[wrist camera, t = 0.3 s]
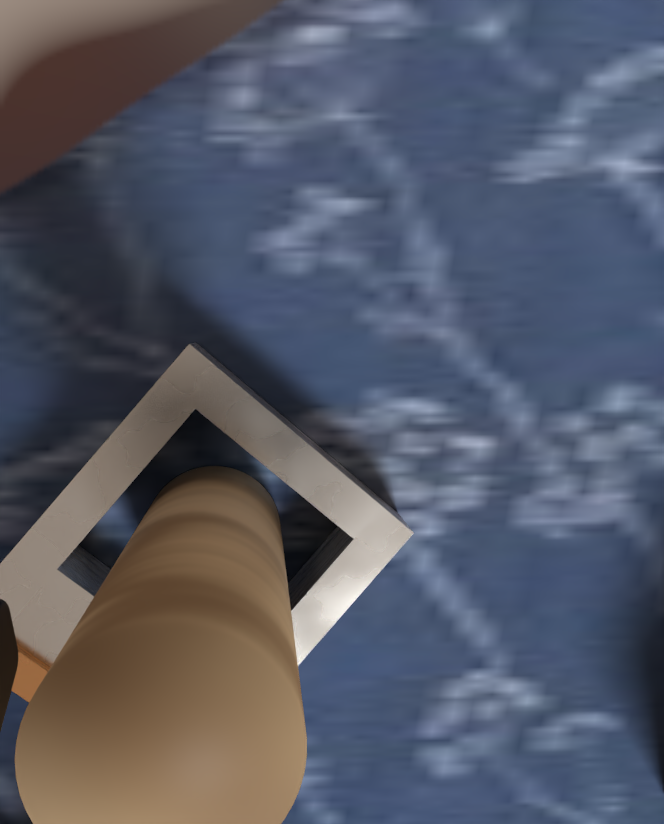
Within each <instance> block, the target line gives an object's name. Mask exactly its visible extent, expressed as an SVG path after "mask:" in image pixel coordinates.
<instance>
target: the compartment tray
mask: <svg viewBox="0 0 664 824" xmlns="http://www.w3.org/2000/svg"><path fill="white" fill-rule="evenodd" d="M195 409H196V410H198V411H199V412H200V413H201V414H202V415H204V416H205V417H206V418H207V419H209V420H210V421H211V422H212V423H213V424H215V425H216V426H217V427H218V428H219V429H221V430H222V431H223V432H224V433H226V434H227V435H228V436H229V437H230V438H232V439H233V440H234V441H235V442H236V443H238V444H239V445H240V446H241V447H243V448H244V449H245V450H246V451H247V452H249V453H250V454H251V455H252V456H253V457H255V458H256V459H257V460H258V461H260V462H261V463H262V464H263V465H264V466H266V467H267V468H268V469H269V470H271V471H272V472H273V473H274V474H275V475H277V476H278V477H279V478H280V479H281V480H283V481H284V482H285V483H286V484H288V485H289V486H290V487H291V488H292V489H294V490H295V491H296V492H297V493H298V494H300V495H301V496H302V497H303V498H305V499H306V500H307V501H308V502H309V503H311V504H312V505H313V506H314V507H315V508H317V509H318V510H319V511H320V512H322V513H323V514H324V515H325V516H326V517H328V518H329V519H330V520H331V521H332V522H334V523H335V524H336V525H337V527H336V528H335V529H334V531H333V532H332V533H331V534H330V535H329V536H328V538H327V539H326V540H325V541H324V542H323V543H322V544H321V546H320V547H319V548H318V549H317V550H316V551H315V553H314V554H313V555H312V556H311V557H310V558H309V559H308V561H307V562H306V563H305V564H304V565H303V566H302V567H301V569H300V570H299V571H298V572H297V573H296V574H295V576H294V577H293V578H292V579H291V580H290V581H289V582H288V590H289V598H290V606H291V615H292V623H293V631H294V639H295V647H296V655H297V663H298V665H299V664H300V663H301V662H302V661H303V659H304V658H305V657H306V656H307V655H308V654H309V653H310V651H311V650H312V649H313V648H314V647H315V646H316V645H317V643H318V642H319V641H320V640H321V639H322V638H323V637H324V635H325V634H326V633H327V632H328V631H329V630H330V628H331V627H332V626H333V625H334V624H335V623H336V622H337V620H338V619H339V618H340V617H341V616H342V615H343V614H344V612H345V611H346V610H347V609H348V608H349V607H350V606H351V604H352V603H353V602H354V601H355V600H356V599H357V598H358V596H359V595H360V594H361V593H362V592H363V591H364V589H365V588H366V587H367V586H368V585H369V584H370V583H371V581H372V580H373V579H374V578H375V577H376V576H377V575H378V573H379V572H380V571H381V570H382V569H383V568H384V567H385V565H386V564H387V563H388V562H389V561H390V560H391V559H392V557H393V556H394V555H395V554H396V553H397V552H398V550H399V549H400V548H401V547H402V546H403V545H404V544H405V542H406V541H407V540H408V539H409V538H410V537H411V536H412V534H413V531H412V530H411V529H410V528H409V526H408V525H407V524H406V522H405V521H404V520H403V519H402V517H401V516H400V515H399V514H398V513H397V512H396V511H395V510H394V509H393V508H391V507H390V506H389V505H388V504H387V503H386V502H384V501H383V500H382V499H381V498H380V497H378V496H377V495H376V494H375V493H374V492H373V491H371V490H370V489H369V488H368V487H367V486H365V485H364V484H363V483H362V482H361V481H360V480H358V479H357V478H356V477H355V476H354V475H352V474H351V473H350V472H349V471H348V470H347V469H345V468H344V467H343V466H342V465H341V464H339V463H338V462H337V461H336V460H335V459H334V458H332V457H331V456H330V455H329V454H328V453H326V452H325V451H324V450H323V449H322V448H321V447H319V446H318V445H317V444H316V443H315V442H313V441H312V440H311V439H310V438H309V437H308V436H306V435H305V434H304V433H303V432H302V431H300V430H299V429H298V428H297V427H296V426H294V425H293V424H292V423H291V422H290V421H289V420H287V419H286V418H285V417H284V416H283V415H281V414H280V413H279V412H278V411H277V410H276V409H274V408H273V407H272V406H271V405H270V404H268V403H267V402H266V401H265V400H264V399H263V398H261V397H260V396H259V395H258V394H257V393H255V392H254V391H253V390H252V389H251V388H250V387H248V386H247V385H246V384H245V383H244V382H242V381H241V380H240V379H239V378H238V377H237V376H235V375H234V374H233V373H232V372H231V371H229V370H228V369H227V368H226V367H225V366H224V365H222V364H221V363H220V362H219V361H218V360H216V359H215V358H214V357H213V356H212V355H210V354H209V353H208V352H207V351H206V350H205V349H203V348H202V347H201V346H200V345H199V344H197V343H191V344H189V345H188V346H187V347H186V348H185V349H184V350H183V352H182V353H181V354H180V355H179V356H178V357H177V359H176V360H175V361H174V362H173V363H172V364H171V366H170V367H169V368H168V369H167V370H166V371H165V373H164V374H163V375H162V376H161V377H160V378H159V380H158V381H157V382H156V383H155V384H154V385H153V387H152V388H151V389H150V390H149V391H148V392H147V394H146V395H145V396H144V397H143V398H142V399H141V401H140V402H139V403H138V404H137V405H136V406H135V408H134V409H133V410H132V411H131V412H130V413H129V415H128V416H127V417H126V418H125V419H124V420H123V421H122V423H121V424H120V425H119V426H118V427H117V428H116V430H115V431H114V432H113V433H112V434H111V435H110V437H109V438H108V439H107V440H106V441H105V442H104V444H103V445H102V446H101V447H100V448H99V449H98V451H97V452H96V453H95V454H94V455H93V456H92V458H91V459H90V460H89V461H88V462H87V463H86V465H85V466H84V467H83V468H82V469H81V470H80V472H79V473H78V474H77V475H76V476H75V477H74V479H73V480H72V481H71V482H70V483H69V484H68V485H67V487H66V488H65V489H64V490H63V491H62V492H61V494H60V495H59V496H58V497H57V498H56V499H55V501H54V502H53V503H52V504H51V505H50V506H49V508H48V509H47V510H46V511H45V512H44V513H43V515H42V516H41V517H40V518H39V519H38V520H37V522H36V523H35V524H34V525H33V526H32V527H31V529H30V530H29V531H28V532H27V533H26V534H25V536H24V537H23V538H22V539H21V540H20V541H19V543H18V544H17V545H16V546H15V547H14V548H13V550H12V551H11V552H10V553H9V554H8V555H7V556H6V558H5V559H4V560H3V561H2V562H1V563H0V599H2V600H4V601H6V603H7V604H8V606H9V609H10V613H11V618H12V623H13V627H14V632H15V637H16V642H17V646H18V667H17V671H16V675H15V679H14V683H13V686H12V690H11V691H13V692H14V693H16V694H17V695H19V696H20V697H22V698H23V699H25V700H26V701H27V702H29V703H30V701H31V699H32V697H33V695H34V694H35V692H36V690H37V688H38V687H39V685H40V684H41V682H42V680H43V679H44V677H45V676H46V674H47V672H48V671H49V669H50V667H51V666H52V664H53V663H54V661H55V659H56V658H57V656H58V655H59V653H60V651H61V650H62V648H63V646H64V645H65V643H66V642H67V640H68V638H69V637H70V635H71V634H72V632H73V630H74V629H75V627H76V625H77V624H78V622H79V621H80V619H81V617H82V616H83V614H84V613H85V611H86V609H87V608H88V606H89V604H90V603H91V601H92V600H93V598H94V596H95V595H96V593H97V592H98V590H99V588H100V587H101V585H102V584H103V582H104V580H105V579H106V577H107V575H108V574H109V572H110V571H111V569H110V568H109V567H107V566H106V565H105V564H103V563H102V562H101V561H99V560H98V559H97V558H95V557H94V556H93V555H91V554H90V553H89V552H87V551H86V550H85V549H83V548H82V547H80V546H79V545H78V544H79V543H80V542H81V541H82V540H83V539H84V538H85V536H86V535H87V534H88V533H89V532H90V531H91V529H92V528H93V527H94V526H95V525H96V524H97V522H98V521H99V520H100V519H101V518H102V517H103V515H104V514H105V513H106V512H107V511H108V510H109V508H110V507H111V506H112V505H113V504H114V503H115V502H116V500H117V499H118V498H119V497H120V496H121V495H122V493H123V492H124V491H125V490H126V489H127V488H128V486H129V485H130V484H131V483H132V482H133V481H134V479H135V478H136V477H137V476H138V475H139V474H140V472H141V471H142V470H143V469H144V468H145V467H146V466H147V464H148V463H149V462H150V461H151V460H152V459H153V457H154V456H155V455H156V454H157V453H158V452H159V450H160V449H161V448H162V447H163V446H164V445H165V443H166V442H167V441H168V440H169V439H170V438H171V436H172V435H173V434H174V433H175V432H176V431H177V430H178V428H179V427H180V426H181V425H182V424H183V423H184V421H185V420H186V419H187V418H188V417H189V416H190V414H191V413H192V412H193V411H194V410H195Z"/></svg>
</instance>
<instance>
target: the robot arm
mask: <svg viewBox="0 0 664 824" xmlns="http://www.w3.org/2000/svg"><path fill="white" fill-rule="evenodd" d="M17 667H18V646H17V642H16V637H15V632H14V627H13V623H12V618H11V613H10V609H9V606H8V604H7V603H6V601H4V600H2V599H0V731H1V727H2V723H3V720H4V716H5V712H6V709H7V705H8V701H9V697H10V694H11V690H12V686H13V683H14V679H15V675H16V671H17Z"/></svg>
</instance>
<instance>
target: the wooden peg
mask: <svg viewBox="0 0 664 824" xmlns="http://www.w3.org/2000/svg"><path fill="white" fill-rule="evenodd" d="M306 757H307V736H306V728H305V720H304V712H303V704H302V696H301V688H300V679H299V671H298V663H297V655H296V647H295V639H294V631H293V623H292V615H291V606H290V598H289V590H288V582H287V574H286V566H285V558H284V550H283V542H282V533H281V525H280V518H279V514H278V510H277V507H276V505H275V503H274V501H273V499H272V497H271V496H270V494H269V493H268V492H267V490H266V489H265V488H264V487H263V486H262V485H261V484H260V483H259V482H258V481H257V480H255V479H254V478H252V477H251V476H249V475H247V474H246V473H244V472H241V471H239V470H236V469H233V468H229V467H222V466H206V467H199V468H196V469H192V470H189V471H187V472H185V473H182V474H181V475H179V476H177V477H176V478H174V479H173V480H171V481H170V482H169V483H168V484H167V485H166V486H165V487H164V488H163V489H162V490H161V491H160V492H159V494H158V495H157V496H156V498H155V500H154V501H153V503H152V504H151V506H150V508H149V509H148V511H147V512H146V514H145V516H144V517H143V519H142V521H141V522H140V524H139V525H138V527H137V529H136V530H135V532H134V533H133V535H132V537H131V538H130V540H129V542H128V543H127V545H126V546H125V548H124V550H123V551H122V553H121V554H120V556H119V558H118V559H117V561H116V563H115V564H114V566H113V567H112V569H111V571H110V572H109V574H108V575H107V577H106V579H105V580H104V582H103V584H102V585H101V587H100V588H99V590H98V592H97V593H96V595H95V596H94V598H93V600H92V601H91V603H90V604H89V606H88V608H87V609H86V611H85V613H84V614H83V616H82V617H81V619H80V621H79V622H78V624H77V625H76V627H75V629H74V630H73V632H72V634H71V635H70V637H69V638H68V640H67V642H66V643H65V645H64V646H63V648H62V650H61V651H60V653H59V655H58V656H57V658H56V659H55V661H54V663H53V664H52V666H51V667H50V669H49V671H48V672H47V674H46V676H45V677H44V679H43V680H42V682H41V684H40V685H39V687H38V688H37V690H36V692H35V694H34V695H33V697H32V699H31V701H30V703H29V704H28V706H27V708H26V711H25V713H24V716H23V719H22V721H21V724H20V728H19V732H18V736H17V741H16V751H15V771H16V780H17V785H18V789H19V794H20V797H21V799H22V802H23V805H24V807H25V810H26V812H27V814H28V816H29V817H30V819H31V821H32V823H33V824H281V823H282V822H283V820H284V819H285V817H286V816H287V814H288V812H289V810H290V809H291V807H292V805H293V804H294V801H295V799H296V796H297V794H298V792H299V789H300V786H301V783H302V779H303V776H304V772H305V765H306Z"/></svg>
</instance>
